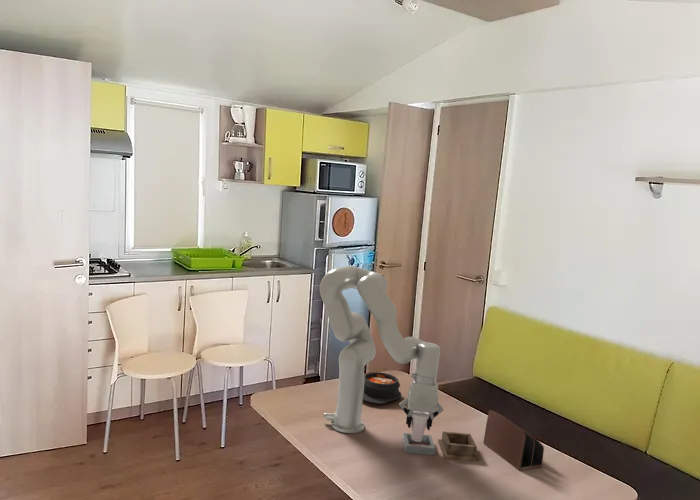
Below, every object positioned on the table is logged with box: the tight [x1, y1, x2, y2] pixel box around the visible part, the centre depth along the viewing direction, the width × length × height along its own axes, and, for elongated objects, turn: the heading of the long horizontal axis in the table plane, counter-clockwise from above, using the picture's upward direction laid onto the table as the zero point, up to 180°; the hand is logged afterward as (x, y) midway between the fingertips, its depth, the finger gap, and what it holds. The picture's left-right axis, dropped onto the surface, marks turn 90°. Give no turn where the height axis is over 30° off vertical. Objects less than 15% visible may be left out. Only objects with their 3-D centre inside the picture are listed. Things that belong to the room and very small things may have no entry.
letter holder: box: [482, 410, 545, 472], centre depth 190 cm, size 10×20×14 cm, turn 23°
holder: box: [402, 432, 436, 456], centre depth 190 cm, size 10×10×2 cm
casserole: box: [363, 371, 402, 405], centre depth 233 cm, size 25×19×8 cm
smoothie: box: [410, 411, 429, 443], centre depth 189 cm, size 6×6×14 cm
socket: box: [437, 431, 480, 462], centre depth 190 cm, size 12×12×4 cm
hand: (418, 426), depth 190 cm, fingers closed on smoothie, 6 cm apart
